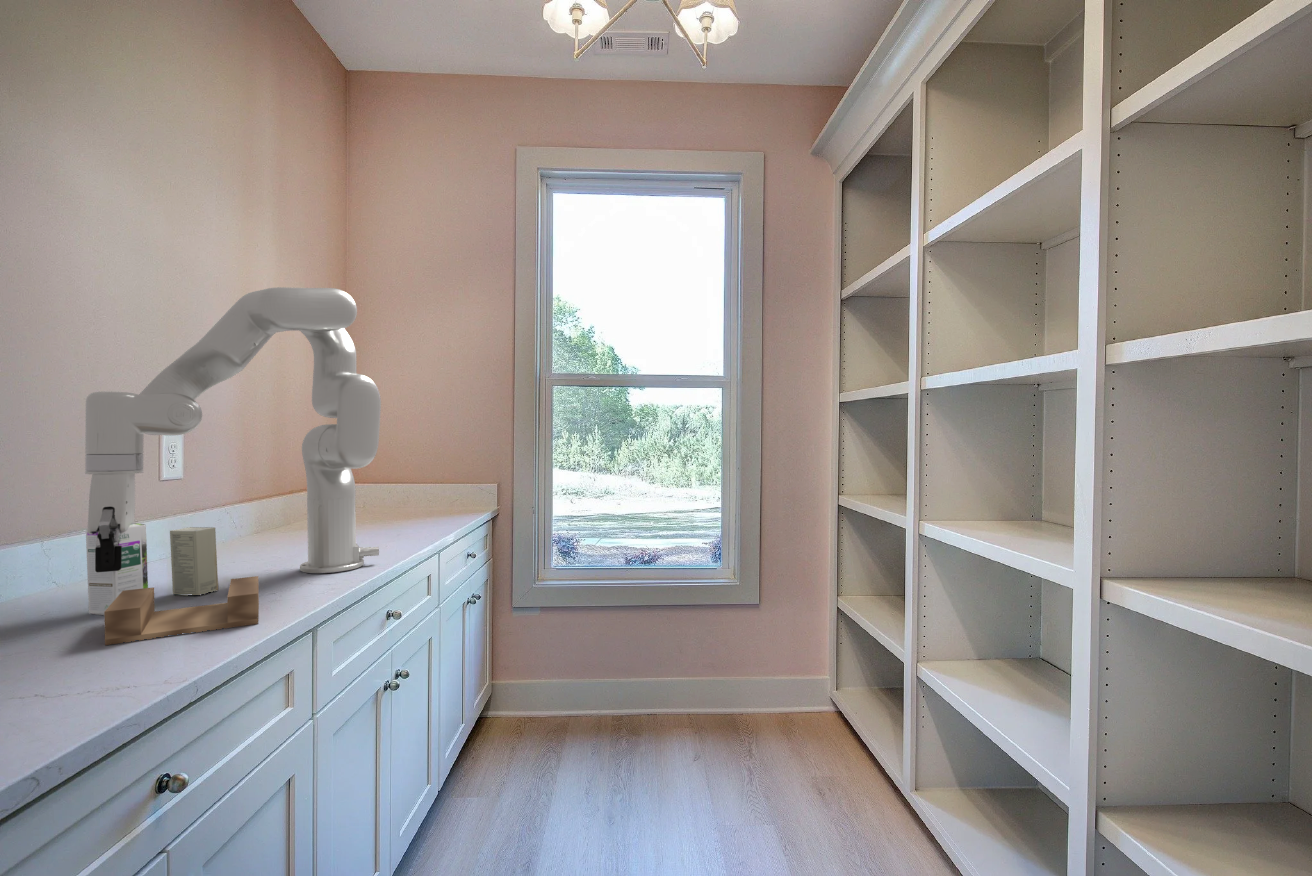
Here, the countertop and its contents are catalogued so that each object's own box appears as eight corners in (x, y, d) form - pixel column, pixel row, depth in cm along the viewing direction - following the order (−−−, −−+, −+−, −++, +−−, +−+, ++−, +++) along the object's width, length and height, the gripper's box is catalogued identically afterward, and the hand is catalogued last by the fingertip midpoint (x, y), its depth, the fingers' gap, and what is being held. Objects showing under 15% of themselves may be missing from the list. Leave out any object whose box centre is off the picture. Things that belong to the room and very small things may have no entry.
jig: (258, 603, 112) (258, 576, 112) (258, 623, 100) (257, 593, 100) (123, 620, 102) (122, 590, 102) (105, 645, 90) (104, 611, 90)
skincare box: (219, 591, 121) (218, 527, 121) (197, 597, 117) (196, 530, 116) (192, 589, 122) (191, 526, 122) (169, 595, 118) (168, 529, 118)
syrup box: (115, 616, 105) (113, 528, 105) (86, 614, 106) (85, 527, 106) (149, 606, 110) (147, 523, 110) (121, 604, 112) (120, 522, 111)
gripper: (97, 463, 113) (96, 559, 113) (72, 467, 98) (71, 578, 98) (150, 462, 117) (150, 555, 117) (134, 466, 102) (134, 573, 102)
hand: (114, 566), depth 108 cm, fingers open, 9 cm apart
